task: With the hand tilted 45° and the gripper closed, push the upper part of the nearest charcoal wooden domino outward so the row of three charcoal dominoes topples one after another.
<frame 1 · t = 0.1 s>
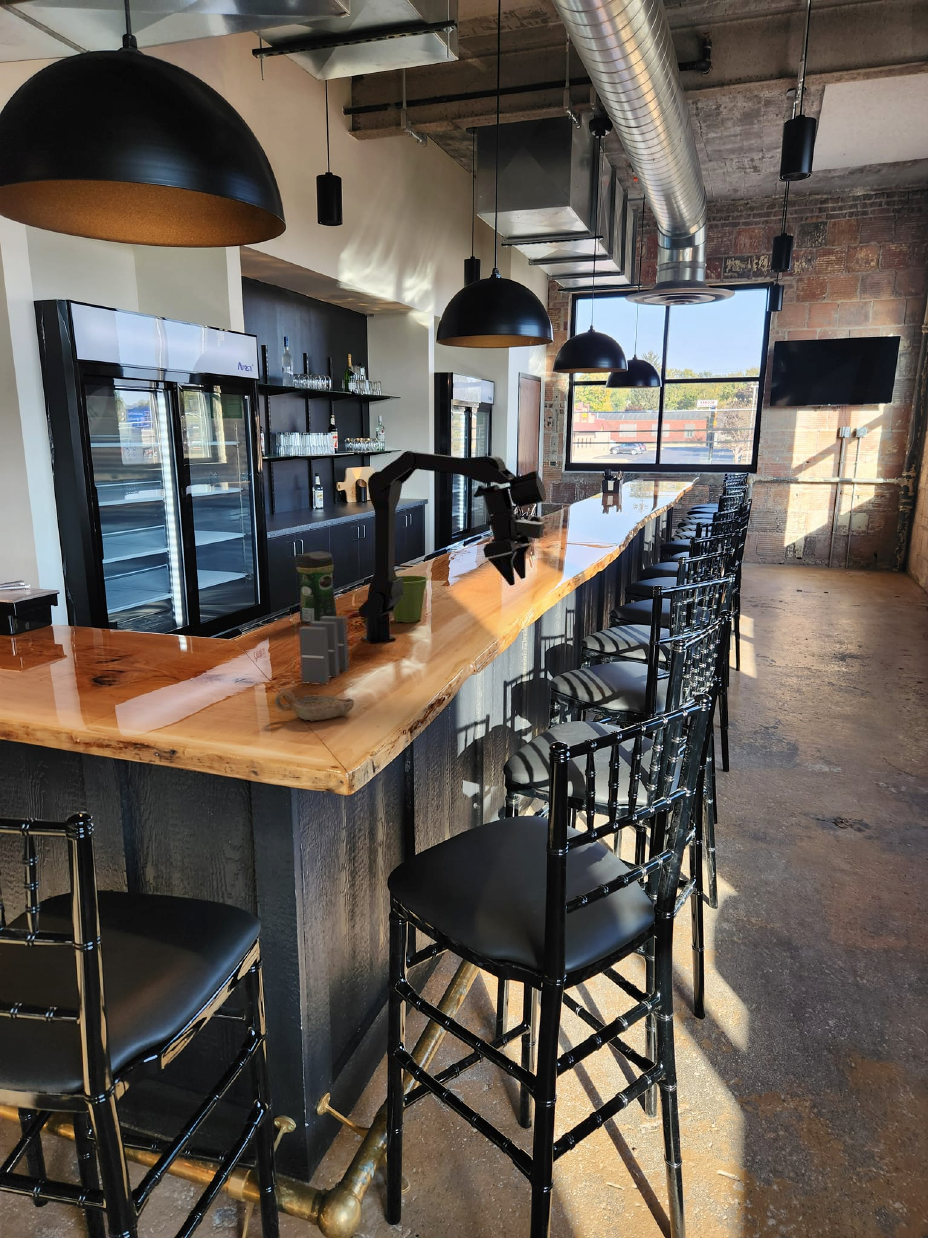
hand: (517, 581, 174), 15 cm above the table, tool pointing down, fingers open, 9 cm apart
oil lamp: (315, 719, 134), on the table
domino 2: (326, 675, 159), on the table
plant pot: (407, 621, 210), on the table
domino 1: (335, 669, 163), on the table
domino 3: (316, 682, 154), on the table
coffee jar: (318, 621, 210), on the table
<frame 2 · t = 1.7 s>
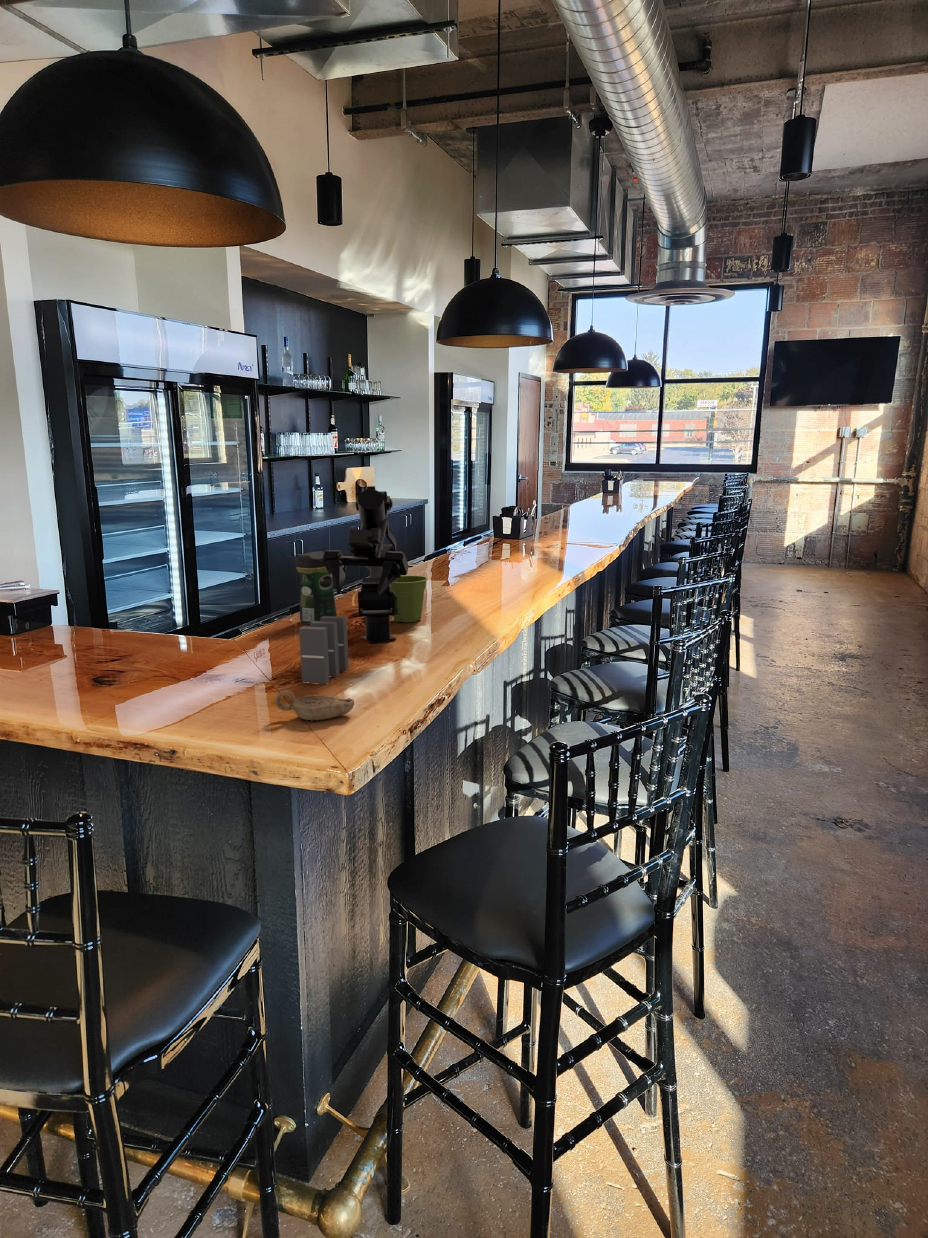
hand: (358, 594, 172), 14 cm above the table, tool tilted 45°, fingers open, 9 cm apart
nothing on the table moved.
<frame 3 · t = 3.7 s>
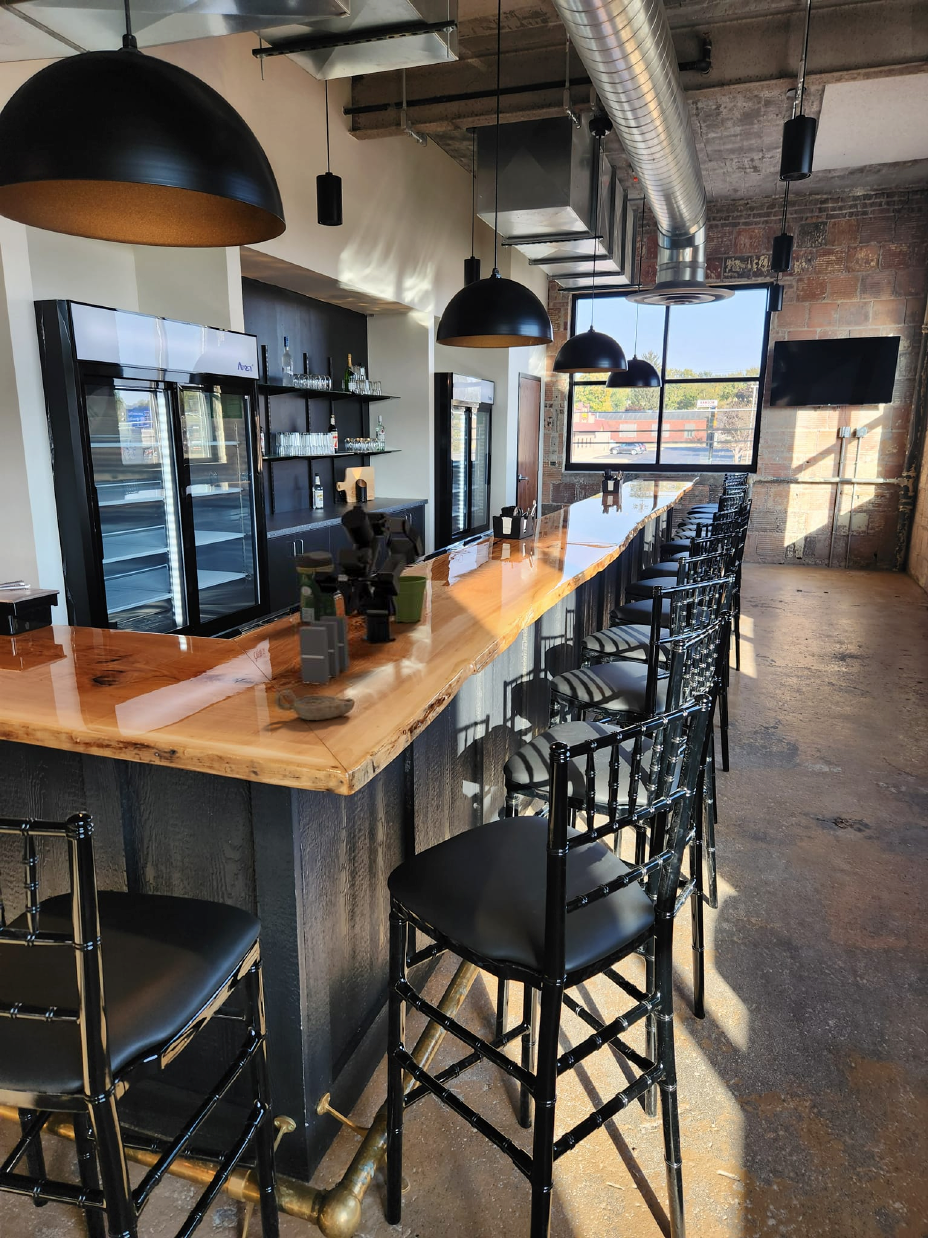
hand: (347, 615, 168), 10 cm above the table, tool tilted 45°, fingers closed
nothing on the table moved.
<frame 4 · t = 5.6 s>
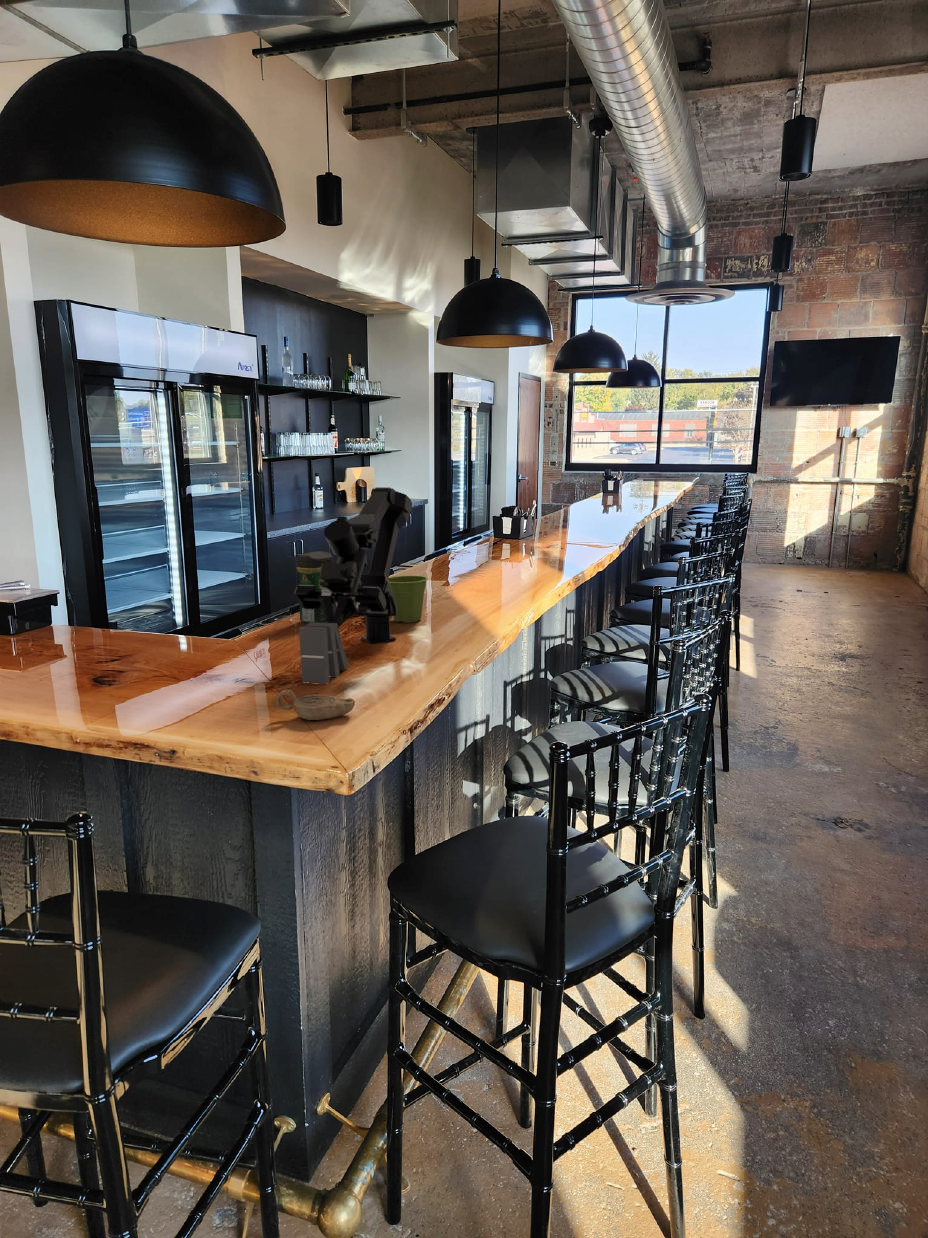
hand: (330, 632, 160), 8 cm above the table, tool tilted 45°, fingers closed
domino 2: (326, 675, 159), on the table, tilted 9°
domino 1: (335, 667, 163), on the table, tilted 26°
everything else where it was.
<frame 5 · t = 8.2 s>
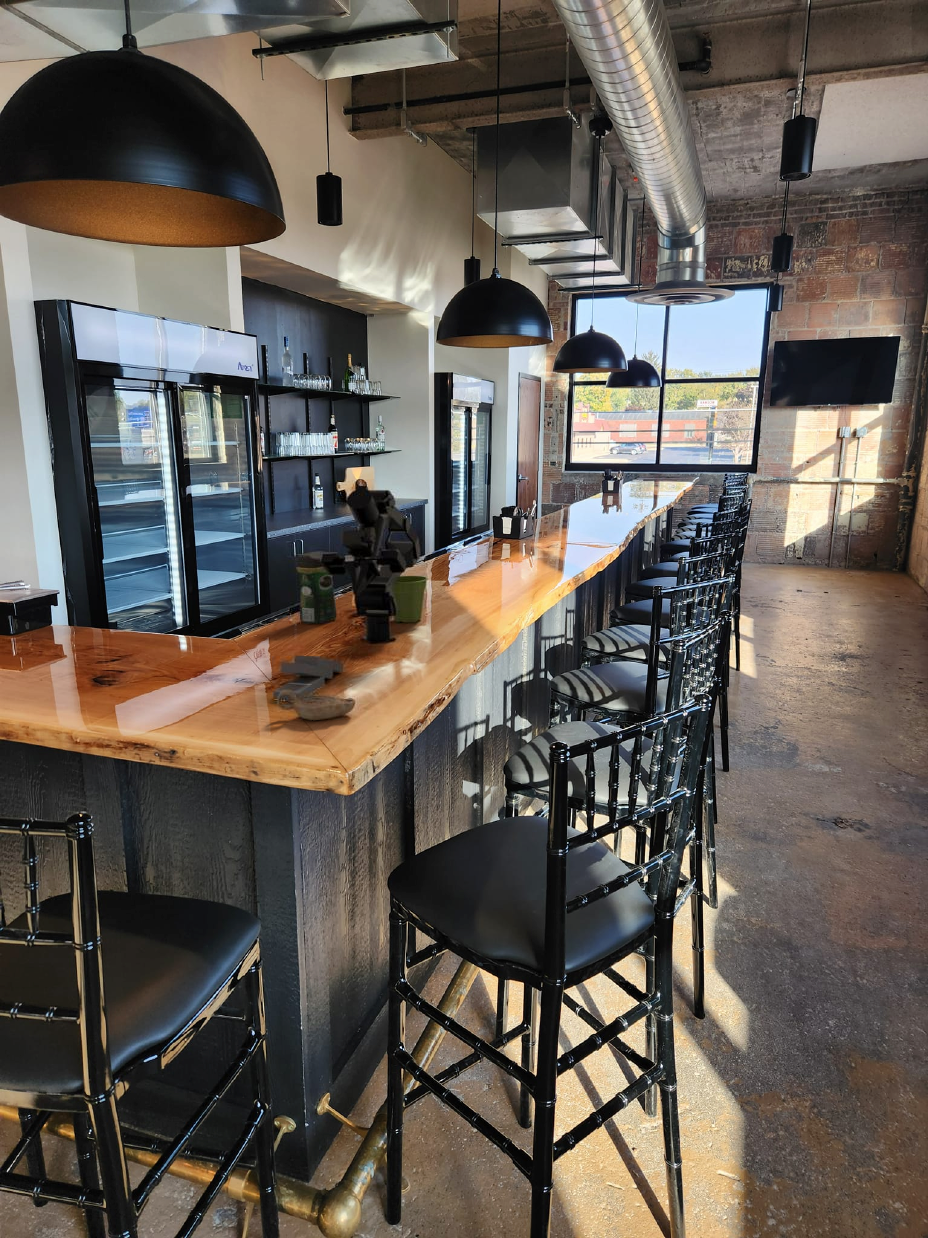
hand: (355, 594, 172), 14 cm above the table, tool tilted 40°, fingers closed
domino 2: (321, 673, 157), point 1 cm above the table, tilted 69°, touching domino 1, domino 3
domino 1: (332, 667, 161), point 1 cm above the table, tilted 68°, touching domino 2
domino 3: (312, 680, 153), point 1 cm above the table, tilted 90°, touching domino 2
everything else where it was.
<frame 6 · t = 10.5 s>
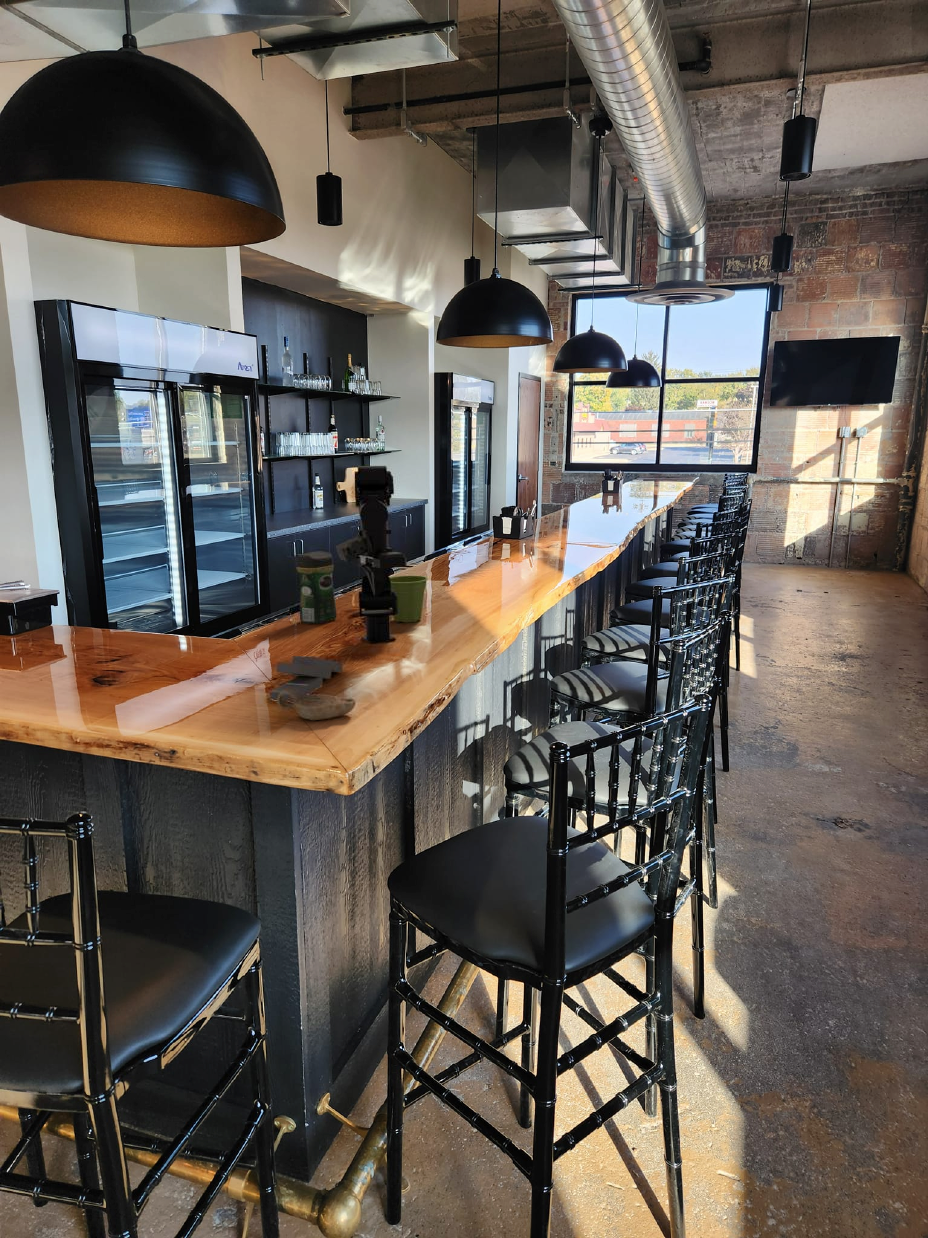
hand: (376, 595, 174), 13 cm above the table, tool pointing down, fingers closed
domino 2: (320, 673, 157), point 1 cm above the table, tilted 69°, touching domino 1
domino 3: (310, 680, 152), point 1 cm above the table, tilted 90°
at the end: domino 3 tilted 90°; domino 1 tilted 69° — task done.
